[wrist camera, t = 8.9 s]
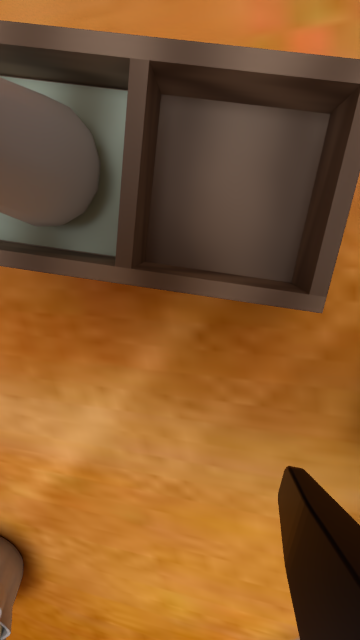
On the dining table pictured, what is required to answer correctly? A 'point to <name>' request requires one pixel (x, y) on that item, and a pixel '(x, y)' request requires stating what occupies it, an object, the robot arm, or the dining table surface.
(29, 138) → the salt shaker
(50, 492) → the dining table surface
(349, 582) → the robot arm
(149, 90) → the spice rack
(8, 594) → the cupcake
